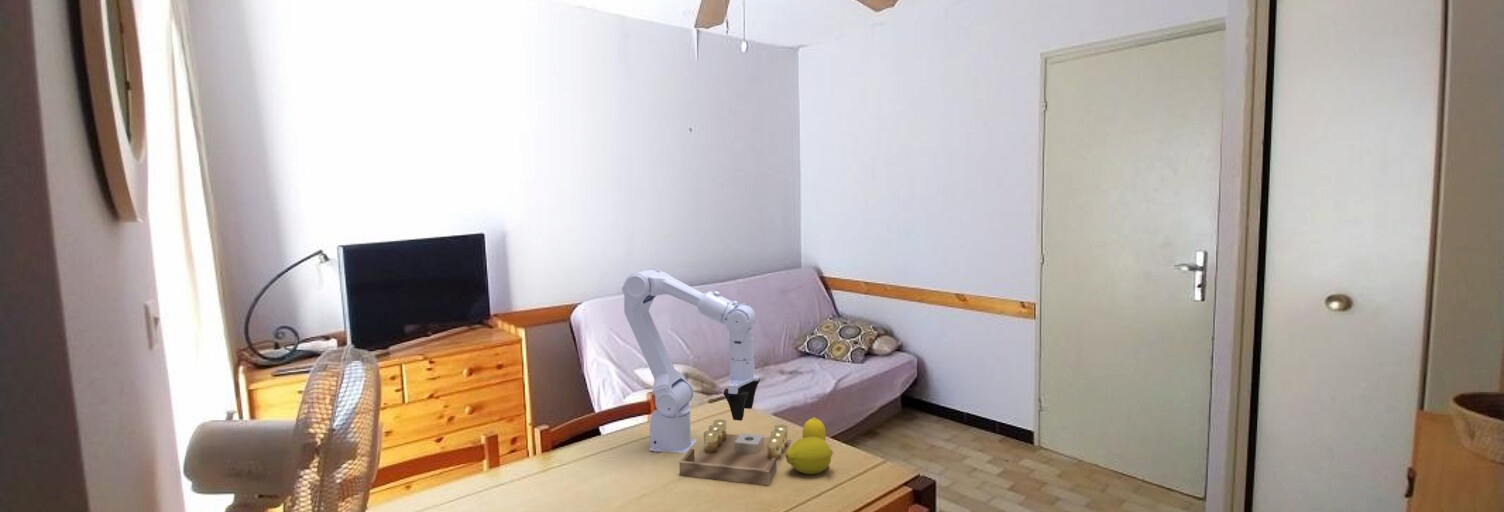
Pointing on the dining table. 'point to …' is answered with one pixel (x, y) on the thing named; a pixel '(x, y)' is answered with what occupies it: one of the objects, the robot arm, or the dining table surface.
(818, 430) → the lemon
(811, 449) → the lemon
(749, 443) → the square block with knob
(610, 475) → the dining table surface
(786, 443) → the spacers
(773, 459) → the tray
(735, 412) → the robot arm
